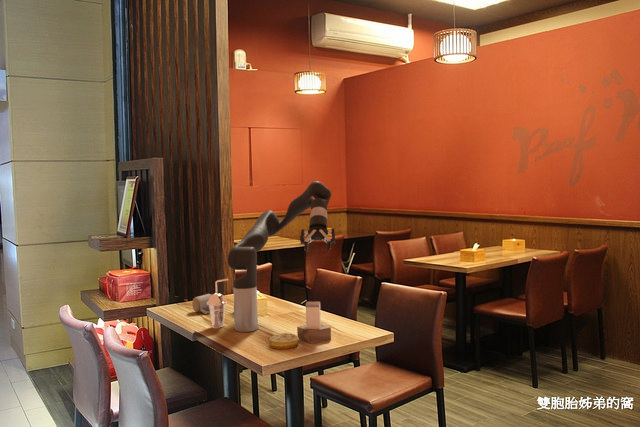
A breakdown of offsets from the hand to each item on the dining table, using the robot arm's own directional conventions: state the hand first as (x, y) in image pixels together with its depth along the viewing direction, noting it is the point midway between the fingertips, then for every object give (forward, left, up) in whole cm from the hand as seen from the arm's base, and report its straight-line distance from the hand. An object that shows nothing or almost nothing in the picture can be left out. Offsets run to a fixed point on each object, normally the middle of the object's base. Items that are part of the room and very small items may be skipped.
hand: (317, 250), depth 231 cm
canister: (+14, -12, -26) cm, 32 cm away
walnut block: (+14, -12, -31) cm, 36 cm away
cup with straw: (-26, -32, -31) cm, 52 cm away
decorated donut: (+14, -25, -31) cm, 42 cm away
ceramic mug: (-55, -25, -31) cm, 68 cm away
